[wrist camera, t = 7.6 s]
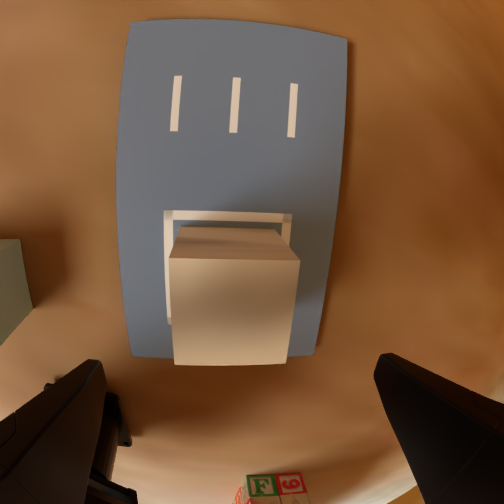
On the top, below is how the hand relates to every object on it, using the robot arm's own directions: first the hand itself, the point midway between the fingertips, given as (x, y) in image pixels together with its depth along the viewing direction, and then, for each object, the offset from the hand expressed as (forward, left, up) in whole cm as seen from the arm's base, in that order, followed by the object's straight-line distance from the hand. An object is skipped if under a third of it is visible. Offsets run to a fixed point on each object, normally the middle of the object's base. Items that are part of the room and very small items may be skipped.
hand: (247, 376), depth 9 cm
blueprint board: (+4, 0, -10) cm, 10 cm away
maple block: (0, 0, -9) cm, 9 cm away
